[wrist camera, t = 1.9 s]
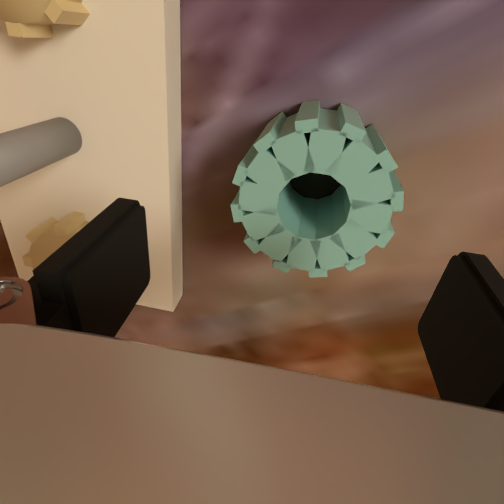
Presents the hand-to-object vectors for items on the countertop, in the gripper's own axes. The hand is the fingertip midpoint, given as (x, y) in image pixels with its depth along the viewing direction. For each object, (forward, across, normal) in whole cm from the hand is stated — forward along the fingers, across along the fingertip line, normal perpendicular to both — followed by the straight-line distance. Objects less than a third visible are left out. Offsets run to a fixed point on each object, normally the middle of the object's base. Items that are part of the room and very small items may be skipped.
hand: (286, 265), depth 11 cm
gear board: (+11, +13, 0) cm, 17 cm away
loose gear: (+11, -1, +1) cm, 11 cm away
